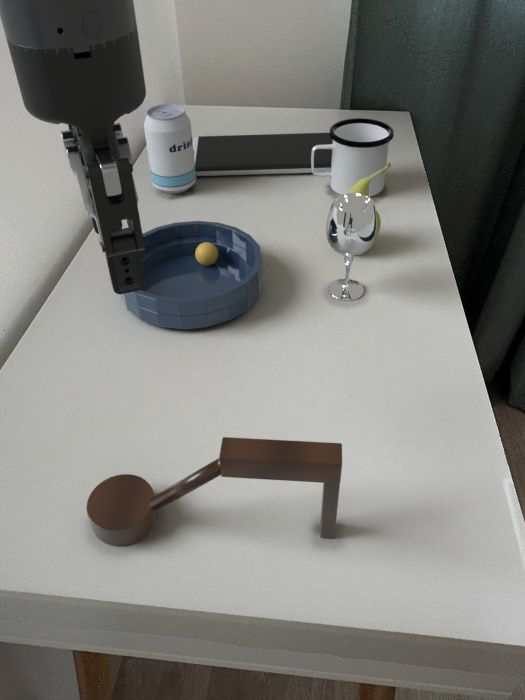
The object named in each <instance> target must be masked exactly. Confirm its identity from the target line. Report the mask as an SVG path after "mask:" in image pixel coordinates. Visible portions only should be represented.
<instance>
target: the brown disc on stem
mask: <svg viewBox="0 0 525 700" xmlns="http://www.w3.org/2000/svg"><path fill="white" fill-rule="evenodd" d="M342 471H343V444H342V443H341V442H325V441H306V440H305V441H304V440H284V439H270V438H269V439H268V438H247V437H231V436H230V437H229V436H226V437H225V436H223V437H222V438H221V445H220V450H219V455H218V458H216V459H215V460H213V461H211V462H209V463H208V464H206V465H204V466H202V467H201V468H199V469H197V470H196V471H194V472H192V473H191V474H189V475H187V476H186V477H184V478H182V479H180V480H178V481H177V482H176V483H174V484H172V485H170V486H169V487H167V488H165V489H163V490H161V491H160V492H158V493H157V494H155V492H154V489H153V487H152V486H151V484H150V483H149V482H148V481H147V480H146V479H145V478H143V477H141V476H138V475H136V474H129V473H123V474H118V475H114V476H109V477H108V478H106V479H104V480H103V481H101V482H99V484H97V485H96V486H95V487H94V488H93V490H92V491H91V492H90V494H89V496H88V499H87V501H86V514H87V517H88V519H89V522H90V526H91V528H92V530H93V533H94V535H95V536H96V538H97V539H98V540H99V541H100V542H103V543H104V544H107V545H110V546H113V547H126V546H130V545H133V544H136V543H138V542H140V541H141V540H143V539H144V538H146V537H147V536H148V535H149V534H150V533H151V531H153V529H154V527H155V524H157V520H158V516H159V515H158V511H159V510H161V509H163V508H165V507H166V506H168V505H170V504H172V503H173V502H176V501H177V500H179V499H181V498H182V497H184V496H186V495H188V494H190V493H192V492H194V491H195V490H197V489H199V488H200V487H202V486H204V485H206V484H208V483H209V482H211V481H213V480H215V479H216V478H218V477H221V478H233V479H249V480H250V479H251V480H267V481H268V480H269V481H270V480H271V481H284V482H285V481H288V482H304V483H322V494H321V506H320V507H321V508H320V521H319V522H320V524H319V527H320V528H319V537H320V539H335V536H336V527H337V517H338V506H339V496H340V487H341V479H342Z"/></svg>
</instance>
